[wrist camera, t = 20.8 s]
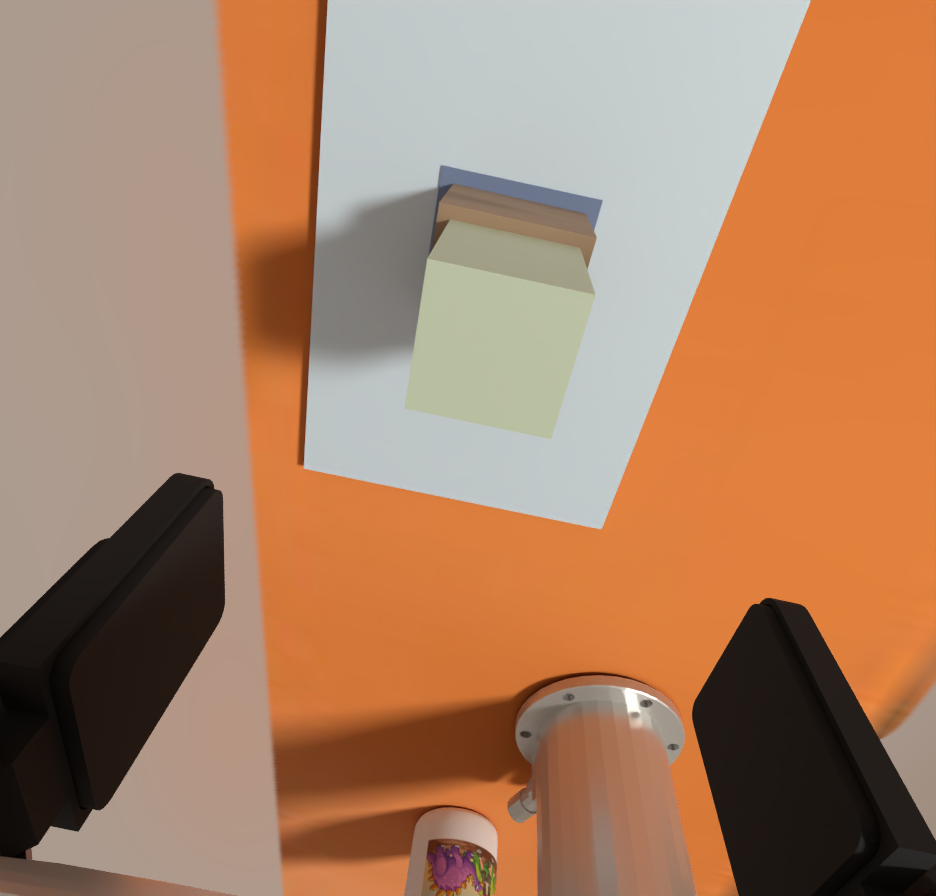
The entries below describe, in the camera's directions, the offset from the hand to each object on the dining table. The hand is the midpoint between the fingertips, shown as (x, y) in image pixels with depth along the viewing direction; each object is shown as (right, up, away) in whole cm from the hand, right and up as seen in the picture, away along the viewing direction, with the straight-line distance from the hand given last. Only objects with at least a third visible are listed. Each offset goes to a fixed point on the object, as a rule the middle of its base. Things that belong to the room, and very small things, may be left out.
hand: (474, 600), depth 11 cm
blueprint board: (+2, +12, +18) cm, 22 cm away
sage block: (+1, +9, +13) cm, 16 cm away
